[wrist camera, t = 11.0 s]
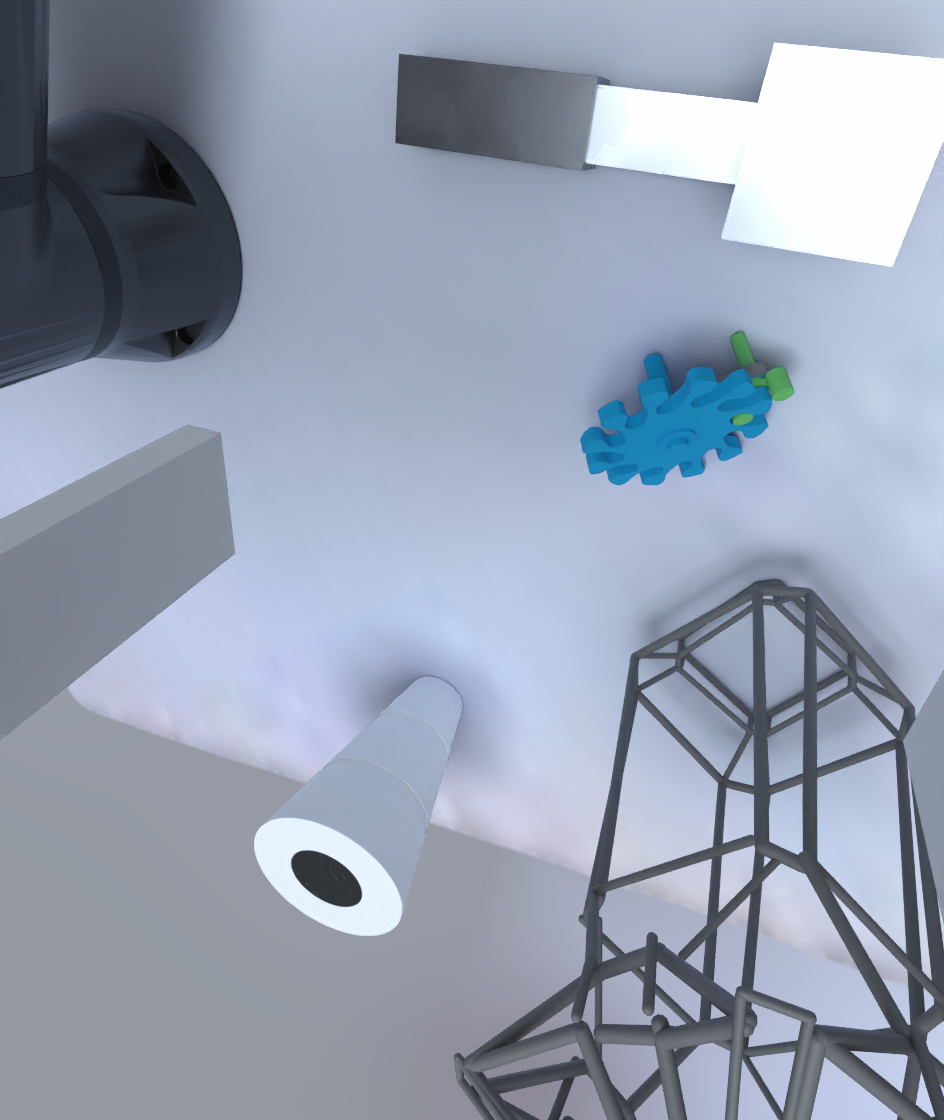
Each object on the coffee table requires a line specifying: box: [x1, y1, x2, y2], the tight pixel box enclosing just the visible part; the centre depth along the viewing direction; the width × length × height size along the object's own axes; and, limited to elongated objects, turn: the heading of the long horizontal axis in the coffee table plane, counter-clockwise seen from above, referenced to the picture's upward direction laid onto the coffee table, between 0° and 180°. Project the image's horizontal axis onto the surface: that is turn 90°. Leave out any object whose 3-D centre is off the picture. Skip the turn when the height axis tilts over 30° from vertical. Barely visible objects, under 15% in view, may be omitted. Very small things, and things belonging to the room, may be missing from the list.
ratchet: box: [395, 54, 758, 185], centre depth 33 cm, size 24×6×7 cm, turn 84°
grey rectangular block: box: [721, 43, 944, 267], centre depth 28 cm, size 6×6×8 cm
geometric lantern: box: [454, 580, 944, 1120], centre depth 33 cm, size 16×16×35 cm
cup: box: [254, 676, 463, 936], centre depth 53 cm, size 11×11×18 cm
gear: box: [580, 332, 794, 485], centre depth 39 cm, size 11×6×10 cm
